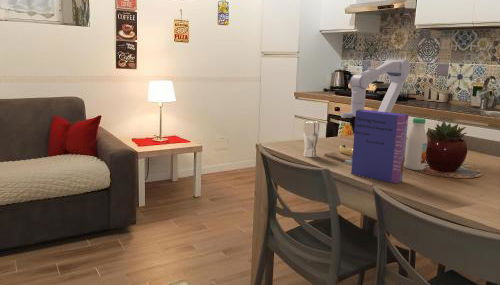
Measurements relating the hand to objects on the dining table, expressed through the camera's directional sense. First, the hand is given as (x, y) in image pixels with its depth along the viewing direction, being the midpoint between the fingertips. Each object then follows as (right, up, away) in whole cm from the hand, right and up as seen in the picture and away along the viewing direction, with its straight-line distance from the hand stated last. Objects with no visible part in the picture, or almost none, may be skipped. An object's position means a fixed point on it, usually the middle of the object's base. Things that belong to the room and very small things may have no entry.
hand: (355, 134), depth 193 cm
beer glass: (-20, -10, 0) cm, 22 cm away
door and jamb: (+1, -11, -6) cm, 13 cm away
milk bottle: (+20, -14, -16) cm, 29 cm away
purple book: (0, -17, -31) cm, 36 cm away
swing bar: (-3, -9, -1) cm, 9 cm away
